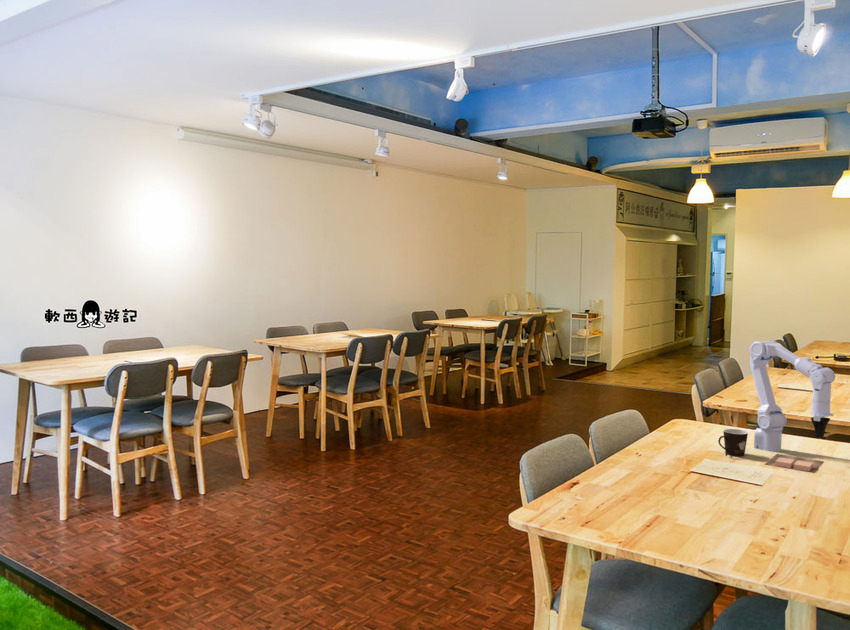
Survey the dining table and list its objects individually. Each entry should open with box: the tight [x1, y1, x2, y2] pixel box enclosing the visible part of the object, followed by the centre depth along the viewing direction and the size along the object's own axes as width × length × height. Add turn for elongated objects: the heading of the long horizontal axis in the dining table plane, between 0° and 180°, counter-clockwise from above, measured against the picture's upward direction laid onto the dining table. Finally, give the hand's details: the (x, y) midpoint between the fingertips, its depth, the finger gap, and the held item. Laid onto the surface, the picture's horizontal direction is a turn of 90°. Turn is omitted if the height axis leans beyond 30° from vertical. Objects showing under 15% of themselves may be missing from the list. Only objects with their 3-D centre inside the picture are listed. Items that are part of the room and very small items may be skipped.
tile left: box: [775, 457, 795, 469], centre depth 246 cm, size 5×2×6 cm
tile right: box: [794, 460, 813, 472], centre depth 243 cm, size 5×2×6 cm
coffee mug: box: [717, 428, 749, 458], centre depth 261 cm, size 12×9×10 cm
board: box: [763, 453, 825, 474], centre depth 250 cm, size 16×19×1 cm
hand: (819, 437), depth 251 cm, fingers closed
